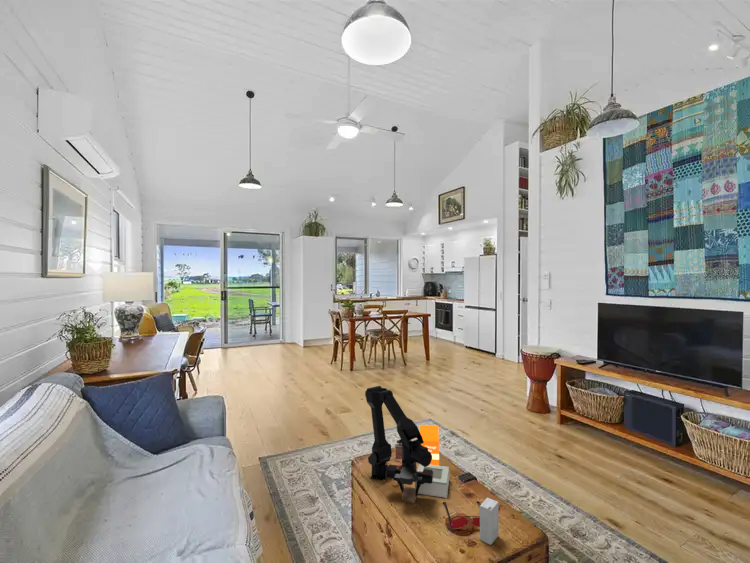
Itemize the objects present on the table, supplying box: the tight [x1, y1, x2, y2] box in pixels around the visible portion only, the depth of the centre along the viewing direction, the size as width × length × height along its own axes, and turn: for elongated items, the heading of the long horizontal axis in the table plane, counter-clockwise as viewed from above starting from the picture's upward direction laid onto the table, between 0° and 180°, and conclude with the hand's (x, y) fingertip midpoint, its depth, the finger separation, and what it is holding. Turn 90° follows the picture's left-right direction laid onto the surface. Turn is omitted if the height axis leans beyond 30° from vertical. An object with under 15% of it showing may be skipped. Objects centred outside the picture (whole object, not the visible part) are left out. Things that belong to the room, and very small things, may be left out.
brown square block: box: [401, 486, 418, 504], centre depth 148 cm, size 5×5×3 cm
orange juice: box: [419, 424, 440, 466], centre depth 171 cm, size 8×9×20 cm
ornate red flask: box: [394, 439, 402, 460], centre depth 179 cm, size 8×3×10 cm, turn 84°
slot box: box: [414, 463, 450, 499], centre depth 156 cm, size 13×13×6 cm
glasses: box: [442, 500, 482, 529], centre depth 137 cm, size 14×16×5 cm
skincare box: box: [479, 497, 499, 546], centre depth 125 cm, size 6×4×12 cm
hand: (409, 494), depth 149 cm, fingers closed on brown square block, 5 cm apart
